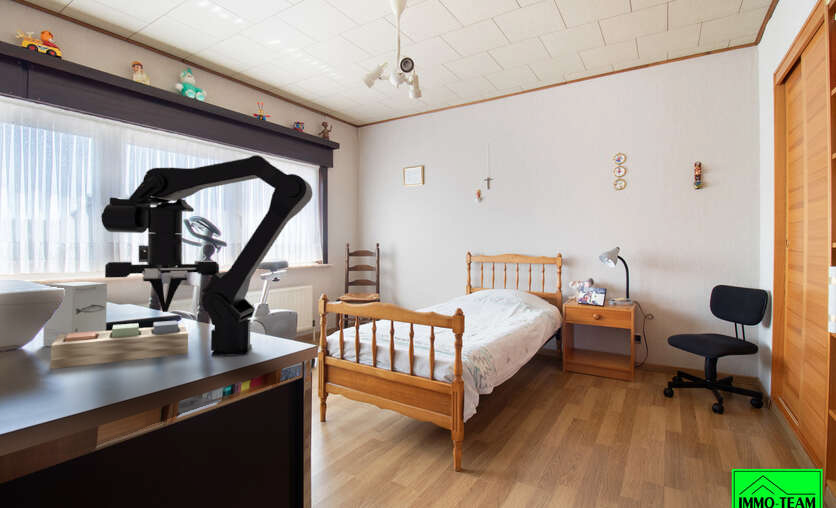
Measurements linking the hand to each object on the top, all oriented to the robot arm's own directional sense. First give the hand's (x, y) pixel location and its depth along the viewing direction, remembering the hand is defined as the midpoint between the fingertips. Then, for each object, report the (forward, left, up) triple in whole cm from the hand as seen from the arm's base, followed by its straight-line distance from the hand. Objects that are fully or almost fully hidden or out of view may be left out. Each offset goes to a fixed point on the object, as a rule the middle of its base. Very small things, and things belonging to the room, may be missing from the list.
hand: (164, 311), depth 80 cm
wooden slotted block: (+6, +2, -8) cm, 10 cm away
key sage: (+6, +2, -5) cm, 8 cm away
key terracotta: (+12, +4, -6) cm, 14 cm away
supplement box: (+19, -9, -8) cm, 22 cm away
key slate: (0, 0, -5) cm, 5 cm away
